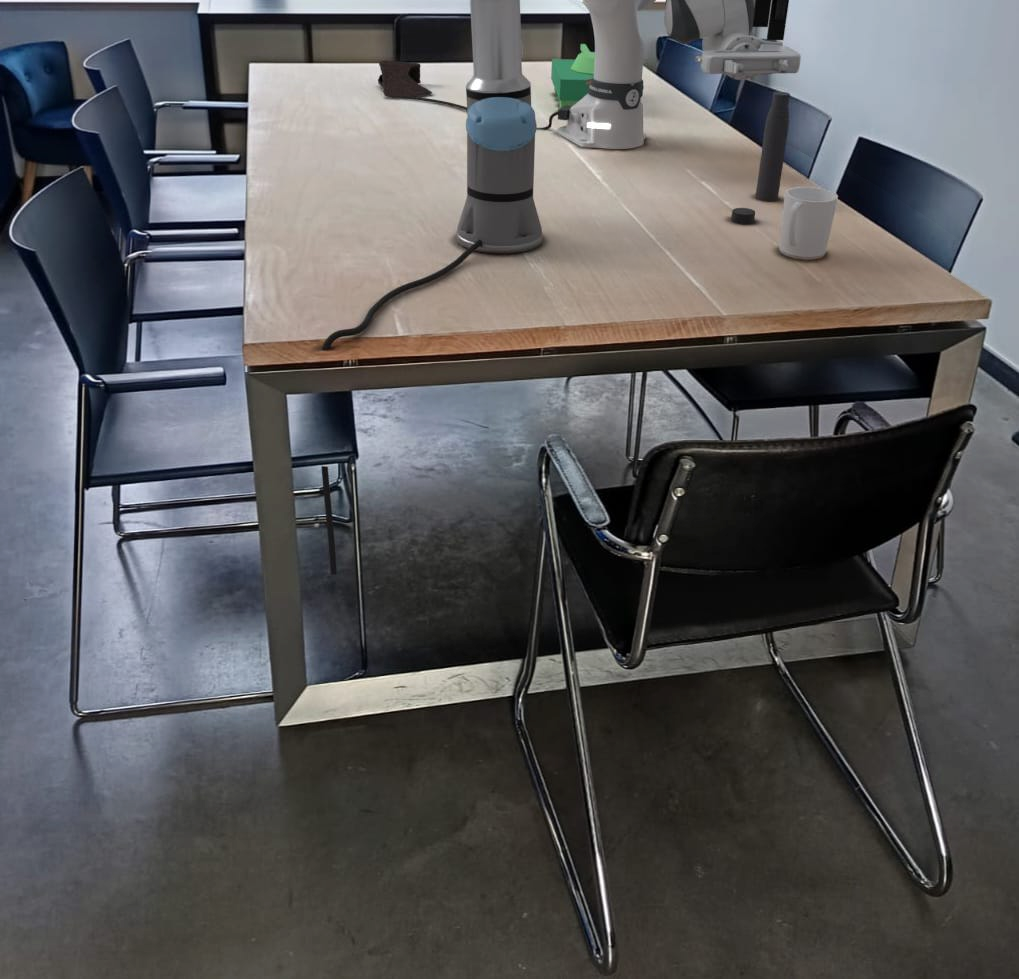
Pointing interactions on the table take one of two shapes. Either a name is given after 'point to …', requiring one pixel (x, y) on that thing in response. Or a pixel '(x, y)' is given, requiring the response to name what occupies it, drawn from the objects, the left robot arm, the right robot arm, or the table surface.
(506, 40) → the left robot arm
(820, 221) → the mug
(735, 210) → the cap
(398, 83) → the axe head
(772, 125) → the bottle
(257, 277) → the table surface
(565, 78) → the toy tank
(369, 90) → the table surface
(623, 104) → the right robot arm
